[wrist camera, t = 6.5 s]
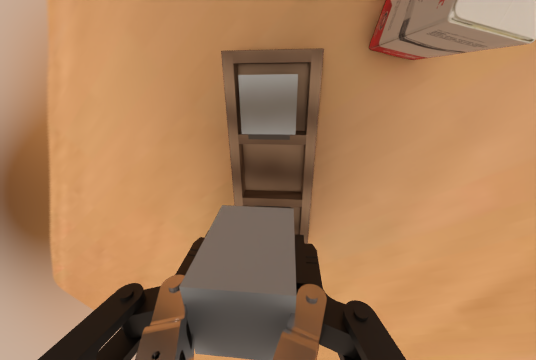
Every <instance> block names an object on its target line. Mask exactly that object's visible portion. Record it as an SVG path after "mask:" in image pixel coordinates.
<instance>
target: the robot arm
mask: <svg viewBox="0 0 536 360" xmlns="http://www.w3.org/2000/svg"><path fill="white" fill-rule="evenodd" d="M207 233H208V232H207ZM206 235H207V234H206ZM294 235H295V265H296V295H297V296H296V309H295V313H291V314H290V317H289V320H288V323H287V326H286V328H284V329H283V331H282V334H281V337H280V340H279V342H278V345H277V348H276V351H275V354H274V357H273V360H317V355H318V349H319V344H320V345H322V346H324V347H327V348H329V349H331V350H333V351H335V352H337V353H338V355H339V357H340V360H406V359H405V357H404V356H403V354H402V353H401V351H400V350H399V348H398V347H397V345H396V344H395V342H394V341H393V339H392V338H391V336H390V335H389V333H388V331H387V330H386V328H385V327H384V325H383V324H382V322H381V321H380V319H379V318H378V316H377V315H376V313H375V312H374V311H373V309H372V308H371V307H370V306H368V305H367V304H365V303H363V302H361V301H355V300H354V301H350V302H348V303H347V304H343V303H340V302H338V301H335V300H333V299H332V298H330V297H329V296H328V295H327V294H326V293H325V291H324V290H323V287H322V281H321V275H320V269H319V262H318V256H317V250H316V249H315V247H314V246H313V244H306V243H304V235H297V234H294ZM205 237H206V236H205ZM204 239H205V238H202V237H200V238H199V239H198V240H197V241H195V242H194V243H193V245H192V247H191V249H190V250H189V252H188V254H187V256H186V257H185V259H184V261H183V262H182V264H181V266H180V268H179V269H178V271H177V273H176V274H175V275H174V276H171V277H169V278H168V279H166V280H165V281H164V282H163V283H162V285H161V286H159V287H155V288H150V289H145V290H143V287H142V286H141V285H140V284H138V283H132V284H128V285H125V286H123V287H121V288H120V289H119V290H117V291H116V292H115V293H114V294H113V295H112V296H110V297H109V298H108V299H107V300H106V301H105V302H104V303H102V304H101V305H100V306H99V307H98V308H97V309H95V310H94V311H93V312H92V313H91V314H90V315H89V316H87V317H86V318H85V319H84V320H83V321H82V322H81V323H80V324H78V325H77V326H76V327H75V328H74V329H72V330H71V331H70V332H69V333H68V334H67V335H66V336H64V337H63V338H62V339H61V340H60V341H59V342H58V343H57V344H56V345H54V346H53V347H52V348H51V349H50V350H48V351H47V352H46V353H45V354H44V355H43V356H42V357H40V358H39V359H38V360H131V359H132V358H133V356H134V355H135V354H136V353H137V354H136V358H135V360H194V343H195V339H194V335H193V334H191V333H190V328H189V324H188V320H187V315H188V310H187V306H186V304H183V300H182V296H181V292H180V288H179V286H180V284H181V282H182V281H183V279H184V277H185V275H186V273H187V271H188V269H189V267H190V265H191V263H192V262H193V260H194V258H195V256H196V254H197V252H198V250H199V248H200V246H201V245H202V243H203V241H204ZM120 328H121V329H120ZM119 329H120V330H119ZM118 330H119V331H118ZM116 331H118V332H117V333H116ZM115 333H116V334H115ZM114 334H115V335H114ZM113 335H114V336H113ZM112 336H113V337H112ZM111 337H112V338H111ZM110 338H111V339H110ZM109 339H110V340H109ZM108 340H109V341H108ZM107 341H108V342H107ZM106 342H107V343H106ZM105 343H106V344H105ZM104 344H105V345H104ZM103 345H104V346H103ZM102 346H103V347H102ZM101 347H102V348H101ZM100 349H101V350H100ZM99 350H100V351H99ZM98 351H99V352H98Z"/></svg>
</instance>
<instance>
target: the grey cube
mask: <svg viewBox="0 0 536 360" xmlns="http://www.w3.org/2000/svg"><path fill="white" fill-rule="evenodd" d="M179 288H180V292H181V296H182V300H183V304H186V306H187V310H188V315H187V320H188V324H189V328H190V333H191V334H193V335H194V339H195V343H194V349H195V353H196V354H204V355H214V356H224V357H234V358H244V359H254V360H273V357H274V354H275V351H276V348H277V345H278V342H279V340H280V337H281V334H282V331H283V329H284V328H286V326H287V323H288V320H289V317H290V314H291V313H295V309H296V296H297V295H296V265H295V235H294V208H271V207H248V206H226V205H222V207H221V209H220V210H219V212H218V214H217V216H216V218H215V220H214V222H213V224H212V226H211V227H210V229H209V231H208V233H207V235H206V237H205V239H204V241H203V243H202V245H201V246H200V248H199V250H198V252H197V254H196V256H195V258H194V260H193V262H192V263H191V265H190V267H189V269H188V271H187V273H186V275H185V277H184V279H183V281H182V282H181V284H180V286H179Z"/></svg>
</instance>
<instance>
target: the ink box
mask: <svg viewBox="0 0 536 360" xmlns="http://www.w3.org/2000/svg"><path fill="white" fill-rule="evenodd" d="M535 39H536V0H386V2H385V5H384V7H383V10H382V13H381V15H380V18H379V21H378V24H377V26H376V29H375V32H374V34H373V37H372V40H371V43H370V46H369V49H370V50H373V51H377V52H382V53H385V54H389V55H393V56H397V57H401V58H406V59H411V60H416V59H423V58H430V57H438V56H446V55H453V54H460V53H465V52H473V51H480V50H487V49H495V48H503V47H510V46H517V45H524V44H530V43H532V42H534V41H535Z"/></svg>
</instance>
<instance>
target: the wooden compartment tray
mask: <svg viewBox="0 0 536 360" xmlns="http://www.w3.org/2000/svg"><path fill="white" fill-rule="evenodd" d="M323 53H324V49H282V50H237V51H221V54H222V66H223V77H224V89H225V100H226V111H227V123H228V134H229V146H230V157H231V169H232V180H233V192H234V203H235V206H248V207H271V208H294V234H297V235H304V243H306V244H307V243H308V231H309V220H310V208H311V196H312V184H313V172H314V160H315V148H316V136H317V125H318V113H319V101H320V89H321V77H322V65H323Z"/></svg>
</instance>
